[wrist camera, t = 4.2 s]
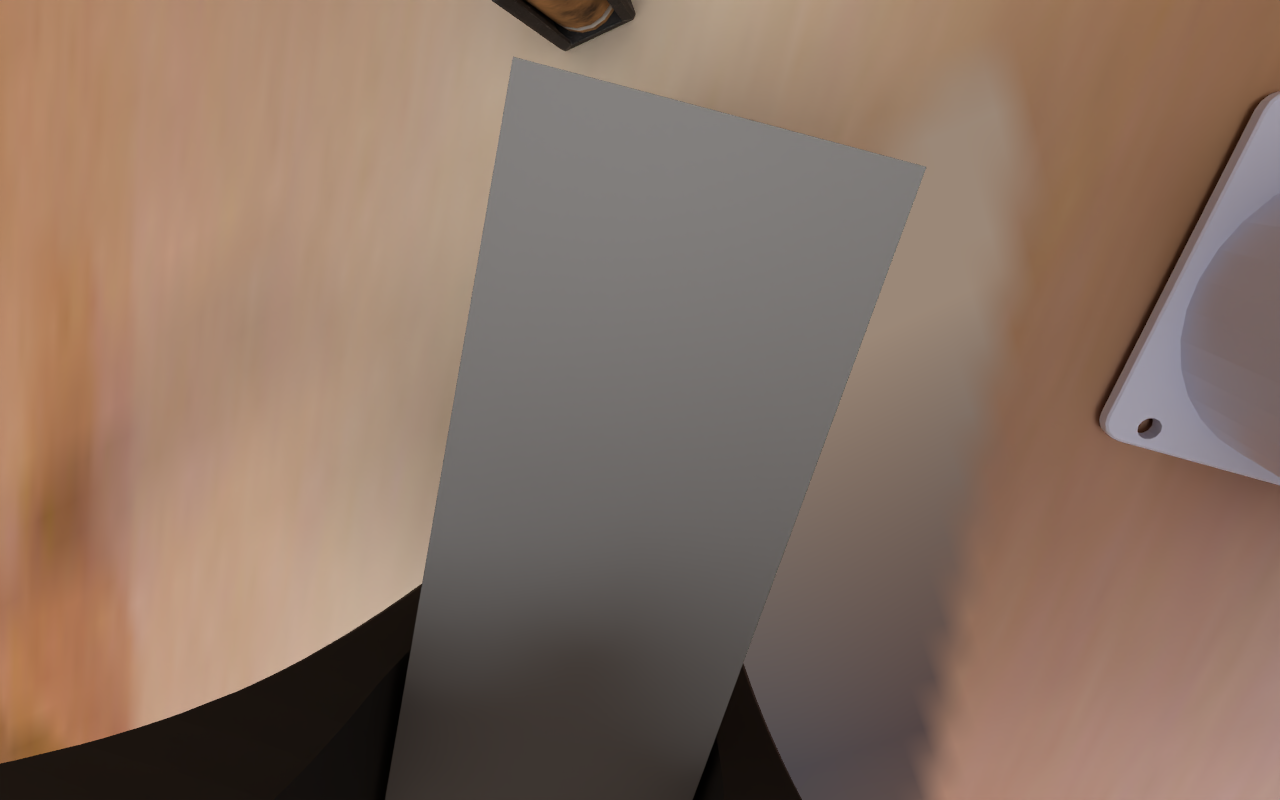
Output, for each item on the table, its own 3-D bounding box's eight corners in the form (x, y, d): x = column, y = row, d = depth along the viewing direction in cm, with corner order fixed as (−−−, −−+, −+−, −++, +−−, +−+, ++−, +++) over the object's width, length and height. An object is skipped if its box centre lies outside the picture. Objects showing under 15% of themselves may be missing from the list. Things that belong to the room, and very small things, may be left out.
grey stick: (848, 156, 12) (927, 166, 7) (592, 924, 18) (542, 1205, 13) (601, 90, 12) (513, 56, 7) (433, 876, 18) (326, 1137, 13)
